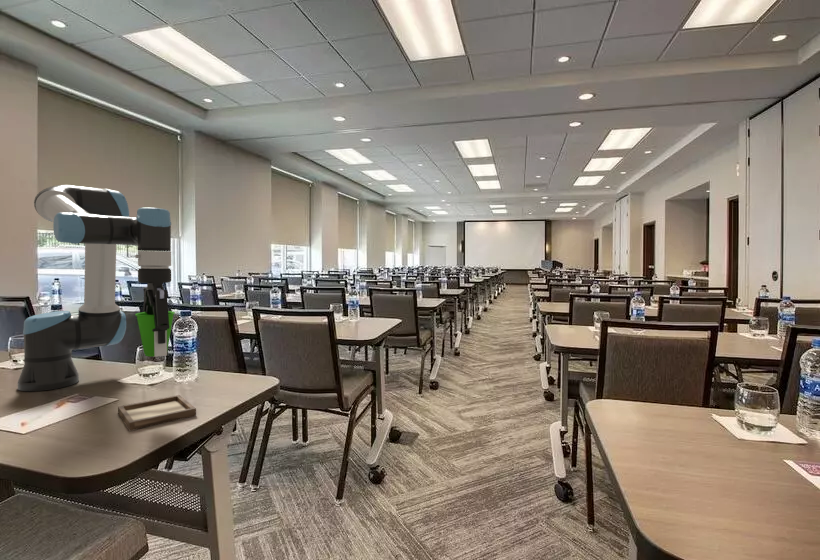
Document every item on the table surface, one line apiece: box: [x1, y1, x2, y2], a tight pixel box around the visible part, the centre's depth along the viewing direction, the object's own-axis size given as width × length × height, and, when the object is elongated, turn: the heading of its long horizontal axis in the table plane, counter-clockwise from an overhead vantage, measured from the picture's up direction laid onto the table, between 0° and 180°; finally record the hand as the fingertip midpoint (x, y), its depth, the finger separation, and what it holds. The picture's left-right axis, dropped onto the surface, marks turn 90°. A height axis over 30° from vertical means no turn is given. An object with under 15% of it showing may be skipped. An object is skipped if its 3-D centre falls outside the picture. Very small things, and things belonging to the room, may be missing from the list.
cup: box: [134, 310, 176, 357], centre depth 113 cm, size 9×9×11 cm
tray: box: [117, 394, 197, 432], centre depth 114 cm, size 15×15×2 cm
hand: (156, 352), depth 113 cm, fingers closed on cup, 9 cm apart
